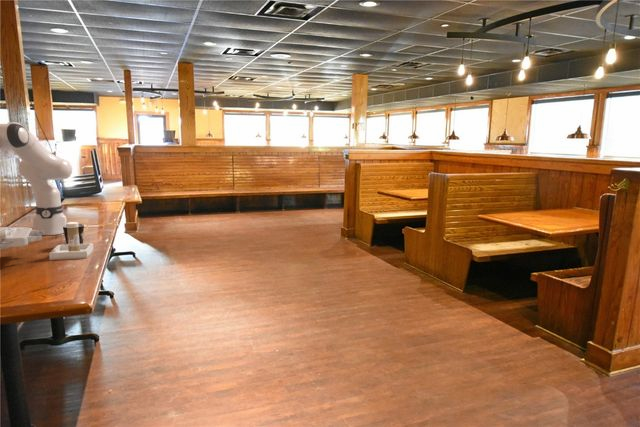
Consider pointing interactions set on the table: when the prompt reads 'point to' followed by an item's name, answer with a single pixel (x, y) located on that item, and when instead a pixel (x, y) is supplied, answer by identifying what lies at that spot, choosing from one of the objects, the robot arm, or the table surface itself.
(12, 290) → the table surface
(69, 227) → the sprinkles bottle
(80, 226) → the coffee mug
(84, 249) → the tray
